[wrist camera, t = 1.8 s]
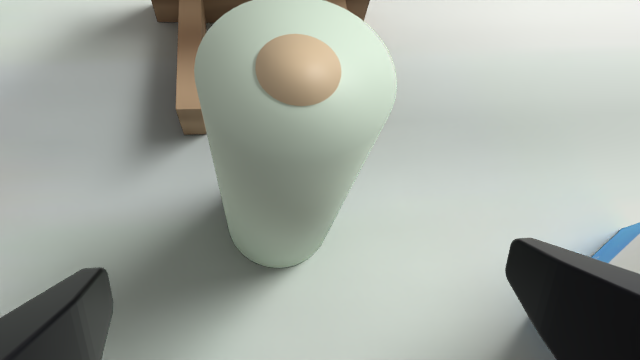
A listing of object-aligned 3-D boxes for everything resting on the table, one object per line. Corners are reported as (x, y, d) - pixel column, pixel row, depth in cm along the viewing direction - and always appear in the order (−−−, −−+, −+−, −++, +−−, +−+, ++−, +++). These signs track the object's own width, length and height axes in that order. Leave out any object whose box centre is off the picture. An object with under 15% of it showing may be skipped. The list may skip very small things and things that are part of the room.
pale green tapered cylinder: (273, 290, 20) (290, 201, 9) (206, 212, 21) (149, 50, 10) (348, 222, 22) (437, 82, 11) (283, 154, 23) (305, -34, 12)
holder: (382, 129, 25) (425, 47, 18) (151, 135, 22) (108, 45, 16) (358, 6, 28) (387, -97, 22) (158, 2, 26) (126, -113, 20)
